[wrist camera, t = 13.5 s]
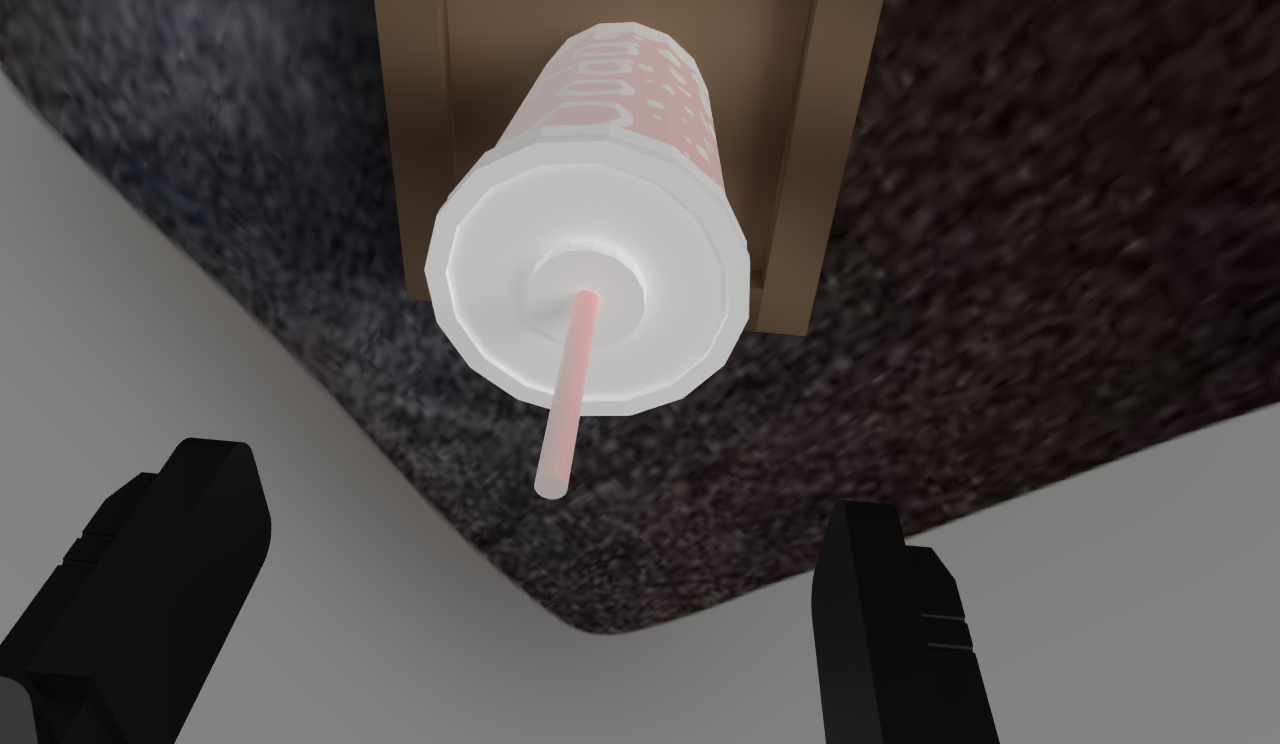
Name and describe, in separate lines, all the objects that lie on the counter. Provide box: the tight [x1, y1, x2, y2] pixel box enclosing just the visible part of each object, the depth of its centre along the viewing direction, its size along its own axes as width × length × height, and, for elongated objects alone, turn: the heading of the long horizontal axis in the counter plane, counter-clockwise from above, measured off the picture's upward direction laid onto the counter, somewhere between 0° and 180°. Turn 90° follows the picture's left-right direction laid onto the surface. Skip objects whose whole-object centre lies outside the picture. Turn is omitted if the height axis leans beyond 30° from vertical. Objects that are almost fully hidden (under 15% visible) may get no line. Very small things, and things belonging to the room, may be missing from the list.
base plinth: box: [374, 0, 883, 336], centre depth 24 cm, size 12×12×4 cm
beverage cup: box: [424, 22, 750, 499], centre depth 18 cm, size 6×6×14 cm
